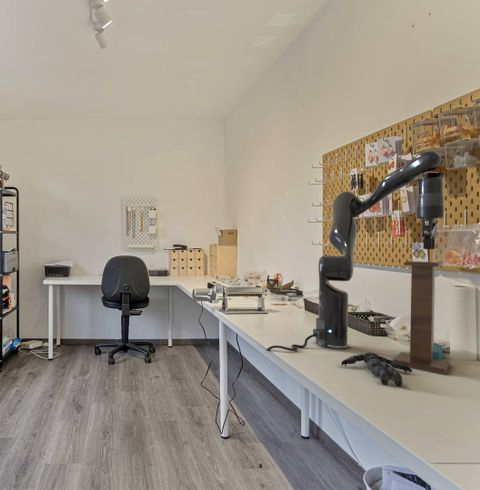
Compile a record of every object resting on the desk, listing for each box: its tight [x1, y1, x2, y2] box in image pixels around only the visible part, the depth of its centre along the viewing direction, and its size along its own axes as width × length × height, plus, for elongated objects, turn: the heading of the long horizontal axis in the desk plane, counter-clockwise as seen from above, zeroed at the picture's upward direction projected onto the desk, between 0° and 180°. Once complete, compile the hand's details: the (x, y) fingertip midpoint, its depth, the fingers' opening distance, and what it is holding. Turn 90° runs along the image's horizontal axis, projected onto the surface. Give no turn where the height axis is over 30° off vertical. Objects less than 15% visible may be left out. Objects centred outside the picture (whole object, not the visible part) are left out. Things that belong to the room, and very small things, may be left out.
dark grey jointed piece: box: [341, 351, 413, 387], centre depth 106 cm, size 18×4×20 cm
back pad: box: [433, 342, 444, 359], centre depth 125 cm, size 19×7×3 cm, turn 131°
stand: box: [393, 260, 451, 375], centre depth 113 cm, size 12×12×32 cm
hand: (429, 249), depth 134 cm, fingers open, 8 cm apart
